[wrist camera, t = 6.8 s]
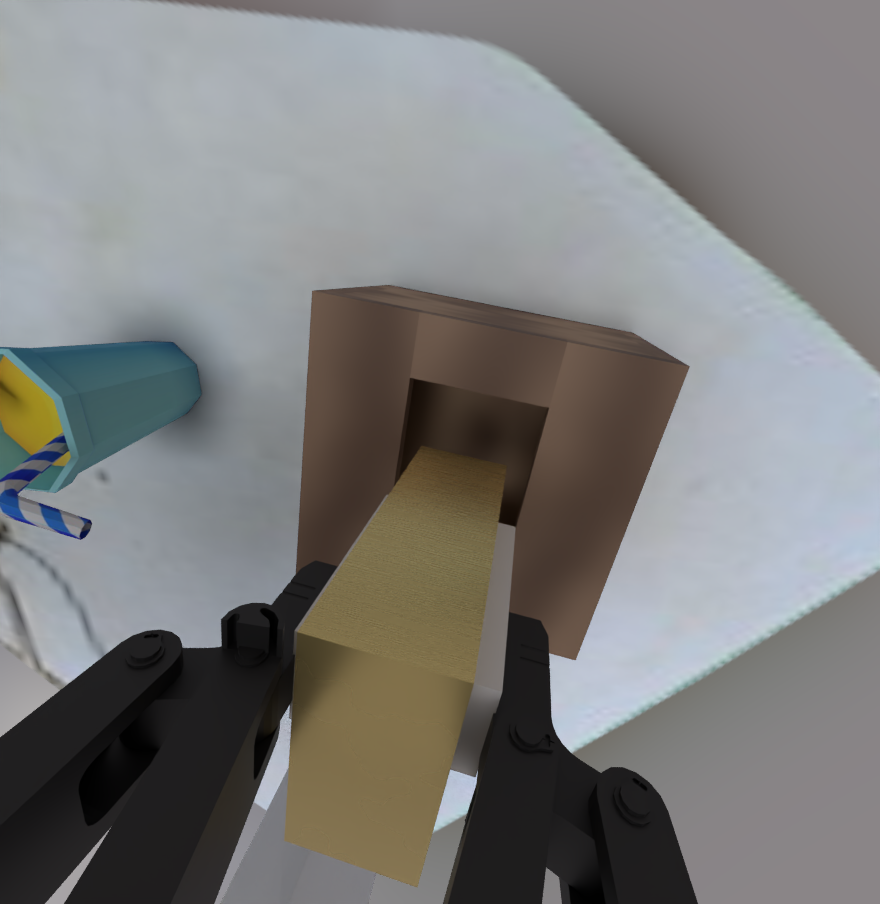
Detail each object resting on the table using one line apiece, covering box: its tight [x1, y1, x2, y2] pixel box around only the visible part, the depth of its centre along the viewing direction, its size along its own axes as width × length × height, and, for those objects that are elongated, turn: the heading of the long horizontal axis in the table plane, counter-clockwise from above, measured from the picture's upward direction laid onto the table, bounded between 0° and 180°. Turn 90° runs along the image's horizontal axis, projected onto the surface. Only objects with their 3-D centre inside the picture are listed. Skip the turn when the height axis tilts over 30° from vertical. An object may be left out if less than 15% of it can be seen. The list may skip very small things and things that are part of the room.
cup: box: [0, 341, 202, 540], centre depth 25 cm, size 14×8×15 cm, turn 67°
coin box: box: [296, 285, 690, 660], centre depth 24 cm, size 14×14×10 cm
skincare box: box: [220, 768, 376, 904], centre depth 34 cm, size 8×7×16 cm
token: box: [284, 446, 507, 887], centre depth 13 cm, size 3×6×9 cm, turn 170°
